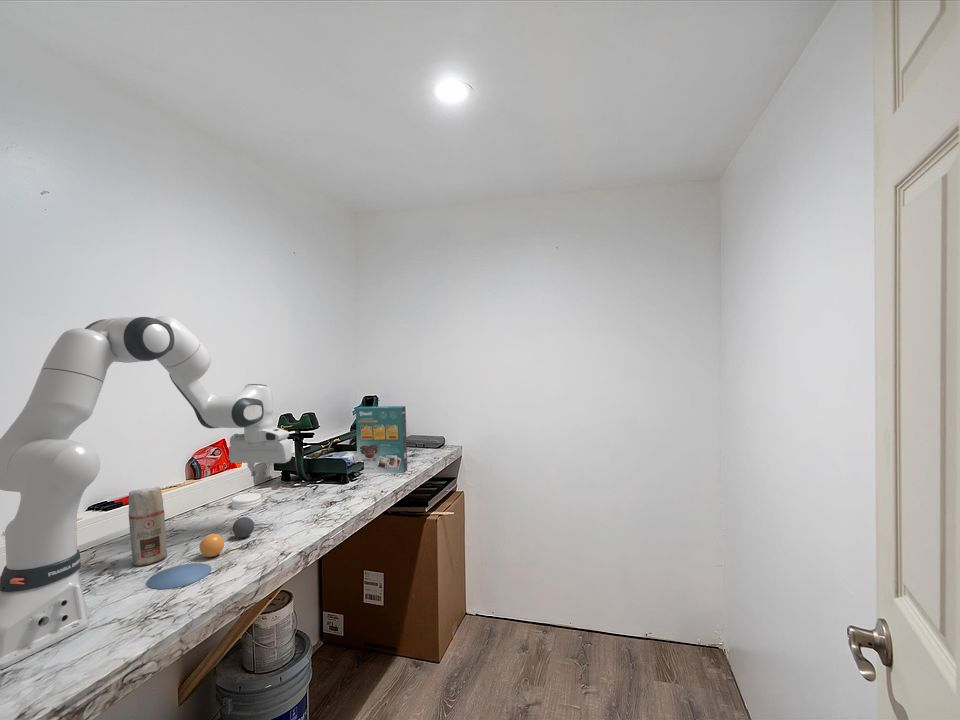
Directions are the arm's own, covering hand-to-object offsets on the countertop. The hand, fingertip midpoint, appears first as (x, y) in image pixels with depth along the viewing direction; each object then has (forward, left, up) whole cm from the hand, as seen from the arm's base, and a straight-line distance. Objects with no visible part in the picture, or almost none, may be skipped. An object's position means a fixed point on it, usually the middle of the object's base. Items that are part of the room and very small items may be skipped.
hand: (260, 476), depth 160 cm
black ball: (-10, 0, -13) cm, 16 cm away
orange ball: (-24, 0, -13) cm, 27 cm away
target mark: (-36, 0, -16) cm, 39 cm away
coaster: (+20, +19, -17) cm, 32 cm away
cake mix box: (+72, -15, -16) cm, 75 cm away
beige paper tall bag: (-28, +16, -16) cm, 36 cm away
